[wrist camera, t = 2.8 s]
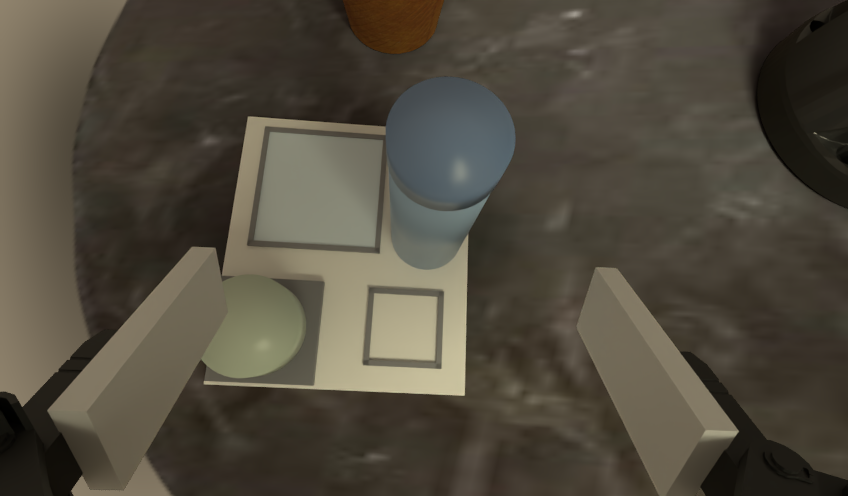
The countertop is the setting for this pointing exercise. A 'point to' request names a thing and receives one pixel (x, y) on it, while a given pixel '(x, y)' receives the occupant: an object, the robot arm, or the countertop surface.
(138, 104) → the countertop surface
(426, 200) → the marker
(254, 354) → the button
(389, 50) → the disposable coffee cup
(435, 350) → the sheet
